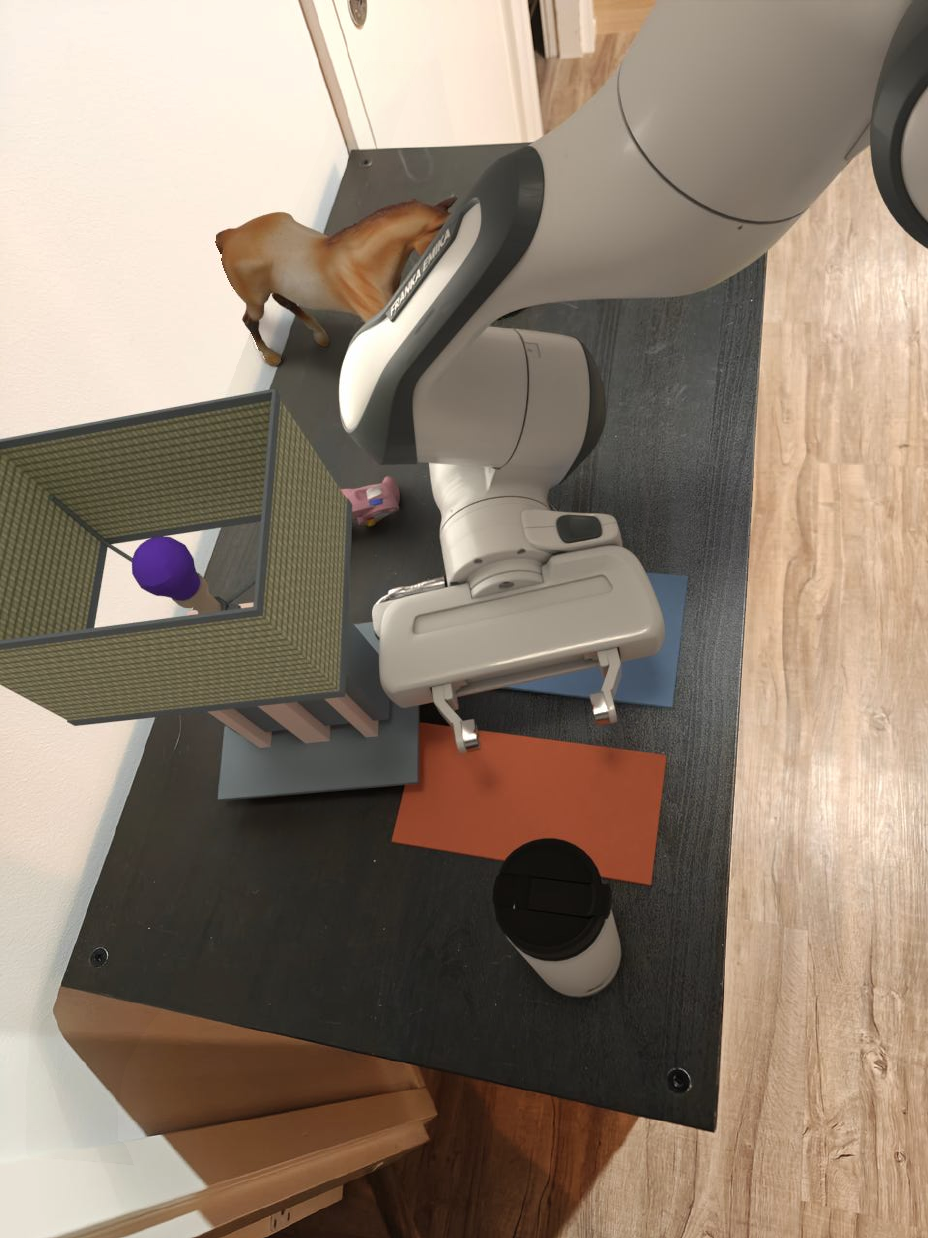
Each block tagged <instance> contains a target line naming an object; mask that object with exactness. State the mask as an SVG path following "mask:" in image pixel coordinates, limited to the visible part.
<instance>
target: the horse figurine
mask: <svg viewBox="0 0 928 1238" xmlns="http://www.w3.org/2000/svg"><path fill="white" fill-rule="evenodd" d="M457 200H458V197H457V196H451V197H450V198H445V199H444V200H443V201H440V202H439V203H436V204H435V205H433V204H427V203H423V202H421V201H419V200H417V199H416V198H413V199H412V200H409V201H402V202H399V203H397V204H390V205H386V206H383V207H381V208H379V209H376V211H374V212H373V213H370V214H369V215H367V216H365V217H364V218H362V219H360V220H359V221H358V222H356V223H353V224H352V225H349V226H347V227H343V228H342V229H341V230H339V231H337V232H335V233H334V234H332V235H331V236H328V235H326V234H324V233H323V232H320V231H318V230H316V229H314V228H311V227H310V226H309V227H308V226H306V225H304V224H302V223H300V222H298V221H296V220H295V219H294V217H293V216H292V215H291V214H290V213H288V212H285V211H275V212H270V213H267V214H263V215H259V216H257V217H254V218H252V219H251V220H248V221H247V222H244V223H243V224H241V225H239V226H237V227H234V228H230V227H229V228H227V229H223V230H221V231H219V232H217V234H215V235H216V241H215V243H216V246H217V248H218V250H219V252H220V254H222V258H221V261H222V265H223V268H224V271H225V273H226V275H227V278H228V280H229V282H230V284H231V286H232V287H233V289H234V290H235V291H234V292H235V293H236V295H237V296H238V297H239V299H241V301H242V302H244V303H245V311H244V314H243V315H242V318H241V321H242V322H243V324H244V326H245V328H246V329H247V330H248V331H249V333H250V332H251V333H250V335H251V334H252V336H253V338H254V340H255V342H256V345H257V347H258V350H259V351H258V350H257V351H258V352H260V353H262V355H263V356H264V358H265V360H266V361H265V360H264V361H265V362H266V363H267V364H268V365H271V366H272V367H277V366H279V365H280V364H279V362H280V360H281V357H282V355H281V354H280V353H278V352H277V351H276V350H274V349H273V348H271V347H268V346H267V344H266V342H265V340H264V339H263V338H262V335H261V332H260V320H261V319H263V317H264V314H265V304H266V303H267V302H268V301H269V299H270V296H271V298H272V299H273V300H274V301H275V302H276V303H277V304H278V305H279V306H280V307H282V308H284V309H286V310H287V311H289V312H290V313H292V314H293V315H294V316H296V318H298V319H299V320H300V321H301V322H302V323H303V325H305V326H306V327H307V328H308V329H309V330H312V331H313V338H314V340H315V342H316V343H317V344H318V345H319V346H322V347H324V346H325V345H327V344H328V343H329V344H330V338H329V336H328V334H327V331H326V330H325V329H324V328H323V327H322V326H321V325H320V322H319V321H318V320H317V319H316V318H314V317H313V316H312V315H310V314H308V313H307V312H306V311H305V310H303V308H304V309H308V310H312V311H329V312H330V311H331V312H340V313H341V312H342V313H347V314H352V315H356V316H359V317H360V318H361V320H362V321H363V322H364V324H365V323H366V322H367V321H368V320H369V319H371V318H372V317H373V316H374V315H375V314H377V313H378V312H379V311H380V310H382V309H383V308H384V307H385V306H386V305H387V304H388V302H389V301H390V300H391V298H392V297H393V295H394V294H395V293H396V291H397V290H398V288H399V287H400V285H401V281H402V274H403V272H404V269H405V266H406V264H407V262H408V260H409V258H410V256H411V254H412V252H414V250H415V251H416V252H417V254H418V255H419V256H420V257H421V256H422V254H423V253H424V252H425V250H426V249H427V247H428V246H429V245H430V243H431V242H432V240H433V239H434V238H435V236H436V235H437V233H438V232H439V231H440V229H441V228H442V226H443V225H444V224H445V222H446V221H447V219H448V218H449V217H450V215H451V214H452V213H453V211H451V212H450V211H449V209H450V208H452V207H453V205H454V204H455V203H456V201H457ZM252 336H251V337H252ZM253 338H252V339H253ZM329 344H328V345H329ZM328 345H327V346H328ZM325 347H326V346H325ZM282 358H283V357H282Z"/></svg>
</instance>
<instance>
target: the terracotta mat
mask: <svg viewBox="0 0 928 1238" xmlns="http://www.w3.org/2000/svg"><path fill="white" fill-rule="evenodd" d="M478 731H479V736H480V737H479V740H480V743H481V750H477V751H473V752H468V753H463V754H460V752H459V750H458V748H457V744H456V739H455V732H454V729H453V728H452V727H451V726H450V725H442V724H435V723H428V722H419V784H409V785H404V788H403V791H402V796H401V800H400V805H399V809H398V812H397V816H396V821H395V824H394V825H395V826H394V829H393V833H392V838H391V843H393V844H399V845H404V846H405V845H406V846H412V847H418V848H423V849H429V850H433V851H440V852H441V851H442V852H447V853H451V854H452V853H453V854H458V855H464V856H470V857H476V858H483V859H488V860H495V861H499V862H504V861H505V859H506V858H507V857H508V856H509V855H510V854H511V853H512V852H513V851H514V850H515V849H517V848H518V847H520V846H521V845H523V844H525V843H528V842H530V841H533V840H537V839H542V838H556V839H561V840H565V841H568V842H570V843H573V844H575V845H576V846H578V847H579V848H581V849H582V850H584V851H585V852H586V853H587V854H588V855H589V856H590V857H591V859H592V860H593V862H594V863H595V865H596V866H597V868H598V870H599V873H600V875H601V878H602V879H607V880H612V881H618V882H625V883H630V884H637V885H641V886H642V885H643V886H648V887H651V886H652V882H653V874H654V865H655V858H656V848H657V840H658V833H659V825H660V815H661V807H662V799H663V790H664V782H665V774H666V766H667V759H668V758H667V754H660V753H653V752H646V751H638V750H633V749H632V750H630V749H623V748H617V747H615V748H614V747H609V746H601V745H593V744H586V743H579V742H578V743H577V742H570V741H562V740H555V739H548V738H541V737H534V736H533V737H532V736H525V735H518V734H510V733H503V732H494V731H488V730H479V729H478Z"/></svg>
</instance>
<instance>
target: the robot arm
mask: <svg viewBox="0 0 928 1238" xmlns="http://www.w3.org/2000/svg"><path fill="white" fill-rule="evenodd" d="M869 147H870V161H871V166H872V174H873V176H874V180H875V184H876V186H877V190H878V192H879V195H880V197H881V199H882V201H883V203H884V205H885V206H886V209H887V210H888V212H889V213H890V214H891V216H892V217H893V219H894V221H896V223H897V224H898V225H899V226H900V228H902V230H904V232H905V233H907V234H908V235H909V236H910V237H911V238H912V239H913V240H914V241H916V242H917V243H918V244H919V245H921V246H922V247H924V248H925V249H927V250H928V0H656V2H655V3H654V6H653V7H652V8H651V10H650V11H649V13H648V14H647V16H646V18H645V19H644V21H643V23H642V25H641V26H640V27H639V29H638V32H637V33H636V35H635V36H634V39H633V40H632V42H631V44H630V45H629V47H628V48H627V50H626V53H625V54H624V56H623V57H622V60H621V61H620V63H619V64H618V66H617V67H616V69H615V70H614V71H613V73H612V75H611V76H610V77H609V78H608V79H607V80H606V82H605V83H603V85H602V86H601V87H600V88H599V89H598V90H597V91H596V93H594V94H593V95H592V96H591V97H590V98H589V99H588V100H587V101H586V102H585V103H584V104H583V105H582V106H581V107H579V108H578V109H577V110H576V111H575V112H573V114H571V115H570V116H569V117H568V118H567V119H565V120H564V121H563V122H561V123H560V124H558V125H557V126H555V127H554V128H553V129H551V130H549V132H547V133H546V134H544V135H542V136H541V137H540V138H538V139H536V140H534V141H533V142H531V143H530V144H528V145H524V146H522V147H519V148H517V149H515V150H512V151H511V152H509V153H507V154H504V155H502V156H500V157H499V158H497V159H496V160H494V162H493V163H491V164H490V165H489V166H488V167H487V168H486V169H485V170H484V171H483V172H482V174H481V175H480V176H479V177H478V178H477V180H476V181H475V182H474V183H473V185H472V186H471V187H470V189H469V190H468V192H466V194H465V195H464V197H463V198H462V199H461V200H460V201H459V203H458V204H457V205H456V207H455V208H454V210H453V211H452V212H453V213H452V214H451V215H450V217H449V218H448V219H447V221H446V222H445V224H444V225H443V226H442V228H441V229H440V231H439V232H438V233H437V235H436V236H435V238H434V239H433V240H432V242H431V243H430V245H429V246H428V247H427V249H426V250H425V252H424V253H423V254H422V256H421V255H420V257H419V259H418V260H417V261H416V263H415V264H414V266H413V267H412V268H411V270H410V271H409V273H408V274H407V275H406V277H405V278H404V280H403V281H402V282H401V283H400V285H399V288H398V290H397V291H396V293H395V294H394V295H393V297H392V298H391V300H390V301H389V302H388V304H387V305H386V306H385V307H384V308H383V309H382V310H380V311H379V312H378V313H377V314H375V315H374V316H373V317H372V318H371V319H369V320H368V321H367V322H366V323H365V322H364V324H363V325H362V326H361V327H360V328H359V329H358V331H356V332H355V334H354V335H353V337H352V338H351V340H350V342H349V344H348V348H347V350H346V352H345V353H346V354H345V356H344V358H343V362H342V365H341V368H340V376H339V382H338V401H339V414H340V415H339V416H340V420H341V425H342V427H343V429H344V430H345V432H346V433H347V435H348V436H349V437H350V438H351V440H352V441H353V442H354V443H355V444H356V445H357V446H358V447H359V448H360V449H361V450H362V451H363V452H364V453H365V454H366V455H367V456H369V458H371V459H372V460H373V461H375V462H376V463H377V464H378V465H380V466H382V465H383V466H384V465H386V466H388V465H419V463H422V464H428V468H429V476H430V485H431V491H432V497H433V499H434V502H435V504H436V506H437V508H438V510H439V511H440V516H441V521H440V525H439V540H440V541H439V542H440V546H441V547H440V548H441V553H442V559H443V564H444V565H443V567H444V572H445V574H444V575H443V576H439V577H435V578H431V579H430V578H429V579H426V580H422V581H420V582H417V583H414V584H410V585H399V586H396V587H392V588H391V589H388V592H387V594H385V595H384V596H381V597H380V599H378V600H377V601H376V603H375V604H374V605H373V607H372V610H371V619H372V621H371V622H373V630H374V634H375V636H376V638H377V639H378V640H379V674H380V682H381V685H382V688H383V690H384V692H385V693H386V695H387V696H388V697H389V698H390V699H391V700H392V701H393V702H394V703H395V704H397V705H398V706H400V707H402V708H408V707H412V706H417V705H419V706H421V705H427V704H432V703H433V704H434V705H435V708H436V709H437V711H438V712H439V714H440V716H442V718H443V719H444V720H445V721H446V722H447V723H448V725H449V726H450V727H452V728H453V729H454V732H455V739H456V744H457V748H458V750H459V752H460V754H463V753H468V752H473V751H477V750H481V743H480V740H479V737H480V736H479V731H478V730H479V726H478V724H477V723H476V721H475V719H474V718H471V719H466V720H463V719H462V718H461V717H460V716H459V715H458V714H457V713H456V711H457V710H459V702H458V698H459V697H464V696H468V695H473V694H478V693H483V692H488V691H493V690H495V689H496V690H497V689H503V688H502V687H507V686H511V685H516V684H521V683H525V682H530V681H535V680H539V679H544V678H549V677H553V676H558V675H563V674H568V673H572V672H577V671H582V670H586V669H591V668H596V667H600V671H601V675H602V678H604V679H605V681H604V684H603V687H602V690H601V692H598V693H594V694H590V699H589V700H590V705H591V709H592V710H591V711H592V713H593V718H594V723H595V726H602V725H606V724H614V723H617V722H618V717H617V711H616V705H615V702H613V699H614V697H615V694H616V691H617V688H618V685H619V682H620V679H621V677H622V671H621V662H624V661H629V660H634V659H638V658H643V657H648V656H653V655H655V654H657V653H658V652H659V650H660V648H661V646H662V644H663V642H664V640H665V624H664V619H663V615H662V612H661V609H660V606H659V603H658V600H657V597H656V595H655V592H654V590H653V588H652V585H651V583H650V581H649V579H648V576H647V574H646V573H647V572H646V570H645V569H644V567H643V565H642V563H641V561H640V560H639V559H638V557H637V556H636V555H635V553H633V552H632V551H631V550H629V549H627V548H626V547H624V544H623V537H622V533H621V531H620V526H619V525H618V521H617V519H616V518H615V517H614V516H613V515H611V514H608V513H596V512H595V513H594V512H593V513H591V512H573V511H559V510H551V508H550V506H549V501H548V496H549V492H550V490H551V489H552V488H553V487H559V486H560V485H561V484H562V483H564V481H566V480H567V479H568V478H569V477H570V476H571V475H572V474H573V473H574V472H575V470H577V468H578V467H579V466H580V465H581V464H582V463H583V462H584V461H585V460H586V459H587V458H588V457H589V455H591V453H592V452H593V451H594V450H595V448H596V447H597V445H598V443H599V441H600V440H601V437H602V435H603V433H604V430H605V426H606V420H607V398H606V397H607V396H606V391H605V386H604V382H603V378H602V375H601V373H600V370H599V367H598V365H597V362H596V360H595V358H594V356H593V355H592V353H591V352H590V350H589V349H588V348H587V346H586V345H585V343H583V342H582V341H581V340H580V339H579V338H578V337H576V336H570V335H566V334H561V333H555V332H547V331H540V330H531V329H524V328H515V327H514V328H513V327H510V328H508V327H498V326H491V324H493V322H495V321H496V320H498V319H499V318H501V317H504V316H506V315H508V314H511V313H512V312H513V313H514V312H515V311H519V310H521V309H525V308H529V307H534V306H539V305H545V304H552V303H561V302H575V301H591V300H625V299H626V300H627V299H631V300H632V299H633V300H634V299H664V298H666V299H667V298H668V299H669V298H676V297H683V296H688V295H693V294H696V293H700V292H702V291H706V290H708V289H710V288H713V287H715V286H717V285H719V284H720V283H722V282H724V281H726V280H728V279H729V278H732V276H735V275H736V274H737V273H739V272H741V271H742V270H744V269H745V268H747V267H749V266H750V265H751V264H753V263H754V262H756V261H757V260H758V259H760V258H761V257H762V256H763V255H765V254H766V253H767V252H768V251H769V250H771V249H772V248H773V247H774V246H775V245H776V244H777V243H778V242H779V241H780V240H781V239H782V238H783V237H784V236H785V235H786V234H787V232H789V230H790V229H791V228H792V227H793V226H794V225H795V224H796V223H797V222H798V220H799V219H801V217H802V216H803V215H804V214H805V213H806V212H807V211H808V210H809V209H810V207H811V206H812V205H813V204H814V203H815V202H816V201H817V199H819V198H820V196H821V195H822V194H823V193H824V192H825V191H826V189H827V188H829V187H830V185H831V184H832V183H833V182H834V180H835V179H836V178H837V177H838V176H839V175H840V173H841V172H842V171H843V170H844V169H845V168H846V167H847V166H848V165H849V164H850V163H851V161H852V160H853V159H855V158H856V157H857V156H859V155H860V154H861V153H863V151H865V150H866V149H867V148H869ZM510 312H511V313H510Z"/></svg>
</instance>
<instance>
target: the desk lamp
mask: <svg viewBox="0 0 928 1238" xmlns="http://www.w3.org/2000/svg"><path fill="white" fill-rule="evenodd" d="M341 489H342V488H340V486H339V484H338V483H337V481H336V480H335V479H334V477H333V476H332V474H331V472H330V471H329V470H328V467H326V465H325V464H324V462H323V461H322V459H321V457H320V456H319V455H318V453H317V451H316V450H315V448H314V447H313V445H312V444H311V443H310V441H309V439H308V438H307V436H306V435H305V433H304V432H303V431H302V429H301V427H300V426H299V424H298V422H297V421H296V420H295V418H294V417H293V414H291V412H290V411H289V409H288V408H287V406H286V404H285V403H284V402H283V400H282V396H281V394H280V392H279V390H278V389H277V387H276V388H271V389H265V390H264V389H263V390H259V391H254V392H253V391H252V392H248V393H243V394H237V395H232V396H227V397H226V396H225V397H221V398H216V399H211V400H204V401H200V402H194V403H189V404H183V405H177V406H172V407H166V408H162V409H156V410H151V411H146V412H140V413H139V412H138V413H134V414H129V415H124V416H117V417H113V418H107V419H102V420H95V421H91V422H86V423H80V424H74V425H69V426H64V427H57V428H52V429H47V430H42V431H36V432H31V433H25V434H21V435H15V436H10V437H9V436H8V437H4V438H0V686H2V687H3V688H5V689H8V690H9V691H11V692H13V693H15V694H17V695H19V696H21V697H22V698H24V699H26V700H28V701H30V702H31V703H34V704H36V705H38V706H39V707H41V708H43V709H45V710H47V711H49V712H51V713H53V714H55V715H56V716H58V717H60V718H62V719H64V720H66V722H67V723H68V724H70V725H72V726H74V727H79V726H80V727H81V726H88V725H98V724H99V725H100V724H107V723H108V724H109V723H117V722H125V721H133V720H134V721H135V720H143V719H145V720H146V719H155V718H163V717H172V716H182V715H190V714H198V713H206V714H208V715H209V716H211V717H212V718H213V719H215V720H216V721H218V722H219V723H221V724H222V725H224V728H223V729H224V730H223V740H222V750H221V758H220V759H221V760H220V770H219V771H220V772H219V781H218V791H217V792H218V793H217V800H218V801H220V802H224V801H225V802H226V801H236V800H247V799H259V798H270V797H280V796H282V797H283V796H294V795H305V794H317V793H328V792H340V791H351V790H362V789H363V790H364V789H372V788H373V789H374V788H384V787H386V788H387V787H396V786H405V785H409V784H419V726H420V705H417V706H412V707H408V708H402V707H400V706H398V705H397V704H395V703H394V702H393V701H392V700H391V699H390V698H389V697H388V696H387V695H386V693H385V692H384V690H383V688H382V685H381V682H380V674H379V640H378V639H377V638H376V636H375V634H374V630H373V621H368V622H367V621H366V622H361V623H353V621H352V620H351V619H350V617H349V605H350V583H351V581H350V579H351V558H352V557H351V555H352V554H351V553H352V529H353V519H352V503H351V502H350V500H349V499H348V498H346V497H345V495H344V494H343V492H342V491H341ZM259 522H260V525H259V536H258V547H257V560H256V571H255V577H254V578H253V579H252V580H251V581H249V582H248V583H247V584H246V585H244V586H243V587H242V588H240V589H239V590H237V592H235V593H233V595H231V596H230V597H229V598H227V599H226V600H225V599H223V598H222V597H220V596H213V595H212V594H211V593H210V592H209V589H210V588H209V583H208V582H207V580H206V578H204V577H203V576H202V575H201V573H199V572H197V569H196V565H195V558H194V557H193V555H192V553H191V551H190V550H189V548H188V547H187V545H186V544H185V543H183V542H181V541H179V540H177V539H175V538H173V537H172V536H175V535H183V534H189V533H195V532H196V533H197V532H202V531H208V530H215V529H220V528H227V527H235V526H242V525H247V524H254V523H259ZM136 541H143V542H142V543H140V544H139V546H138V547H137V548H136V549H135V551H134V553H133V556H130V555H128V554H127V553H126V552H124V551H123V550H122V549H120V548H118V547H116V546H114V545H116V544H123V543H130V542H136ZM108 549H109V550H112V551H113V552H115V553H116V554H118V555H119V556H121V557H122V558H124V559H125V560H127V561H129V562H130V563H131V574H132V576H133V578H134V580H135V581H136V583H137V584H138V586H139V587H140V589H141V590H144V591H145V592H147V593H149V594H151V595H153V596H155V597H164V598H165V597H166V598H170V599H171V600H172V601H173V602H174V603H176V604H177V605H178V606H180V607H181V608H183V609H191V610H187V611H186V615H181V616H174V617H164V618H159V619H151V620H143V621H136V622H135V621H134V622H127V623H122V624H121V623H120V624H112V625H105V626H98V627H95V625H96V621H97V613H98V608H99V603H100V595H101V590H102V583H103V578H104V571H105V565H106V561H107V553H108ZM253 586H254V592H253V593H254V594H253V602H245V603H238V604H234V603H232V602H234V601H236V599H238V598H239V597H240V596H241V595H243V594H244V593H245V592H247V591H248V590H249V589H250V588H252V587H253ZM192 609H193V610H192Z"/></svg>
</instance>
